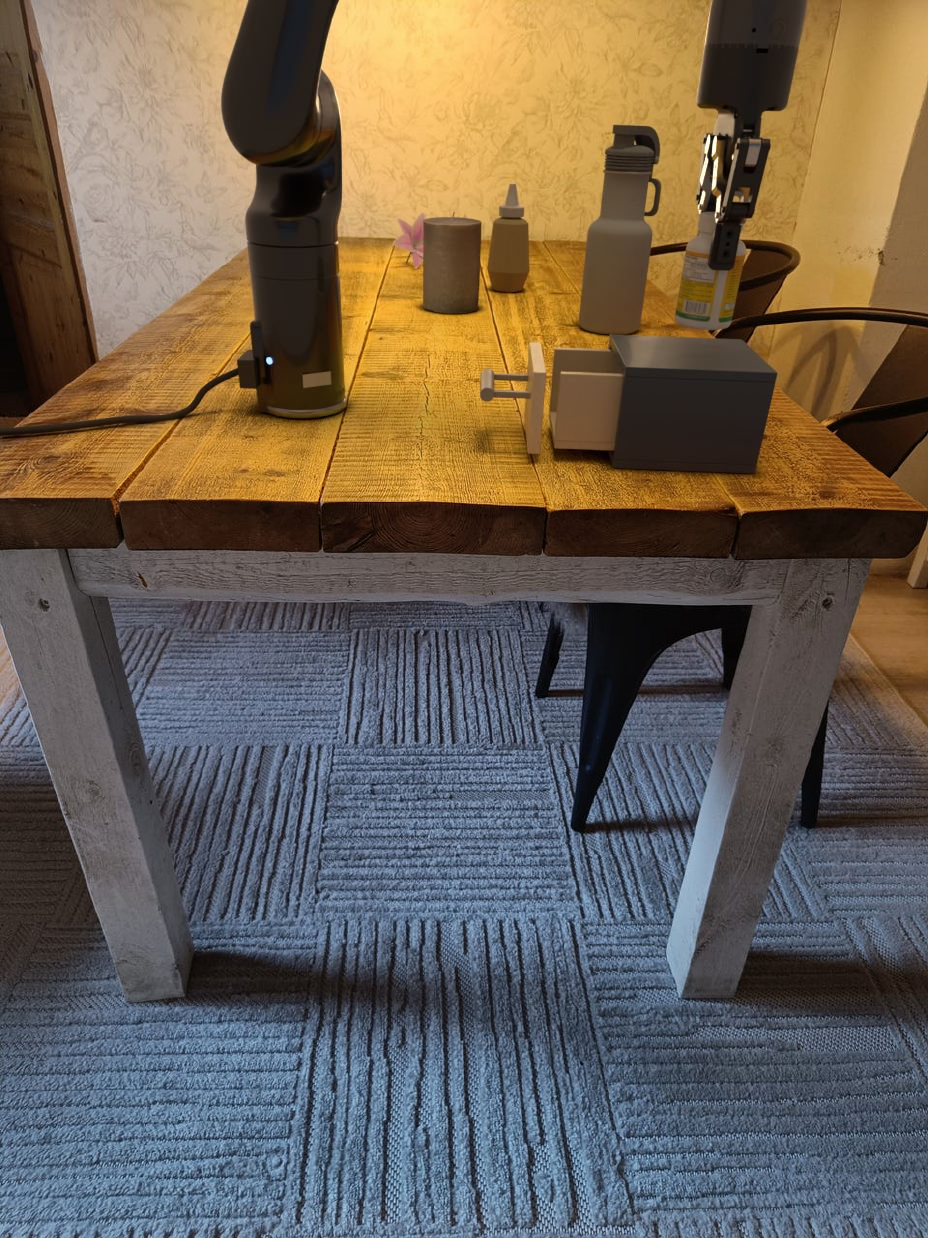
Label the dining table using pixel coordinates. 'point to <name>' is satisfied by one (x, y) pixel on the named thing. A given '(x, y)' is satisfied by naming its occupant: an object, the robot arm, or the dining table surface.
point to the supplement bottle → (707, 283)
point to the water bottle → (621, 235)
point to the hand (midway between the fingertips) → (712, 263)
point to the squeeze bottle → (509, 246)
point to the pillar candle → (451, 264)
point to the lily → (412, 239)
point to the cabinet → (690, 404)
